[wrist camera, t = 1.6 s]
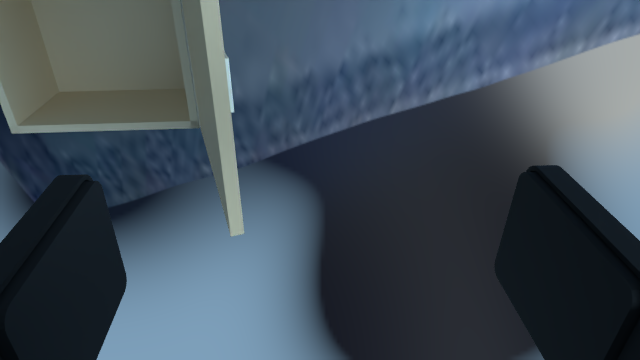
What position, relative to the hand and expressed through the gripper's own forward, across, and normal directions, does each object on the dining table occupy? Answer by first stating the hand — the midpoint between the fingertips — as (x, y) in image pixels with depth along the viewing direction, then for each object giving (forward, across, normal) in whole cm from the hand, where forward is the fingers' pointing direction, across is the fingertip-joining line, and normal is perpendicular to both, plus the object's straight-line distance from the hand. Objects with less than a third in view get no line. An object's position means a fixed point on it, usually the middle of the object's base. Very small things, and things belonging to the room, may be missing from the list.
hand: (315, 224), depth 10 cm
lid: (+17, +6, 0) cm, 18 cm away
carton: (+32, +15, +1) cm, 35 cm away
